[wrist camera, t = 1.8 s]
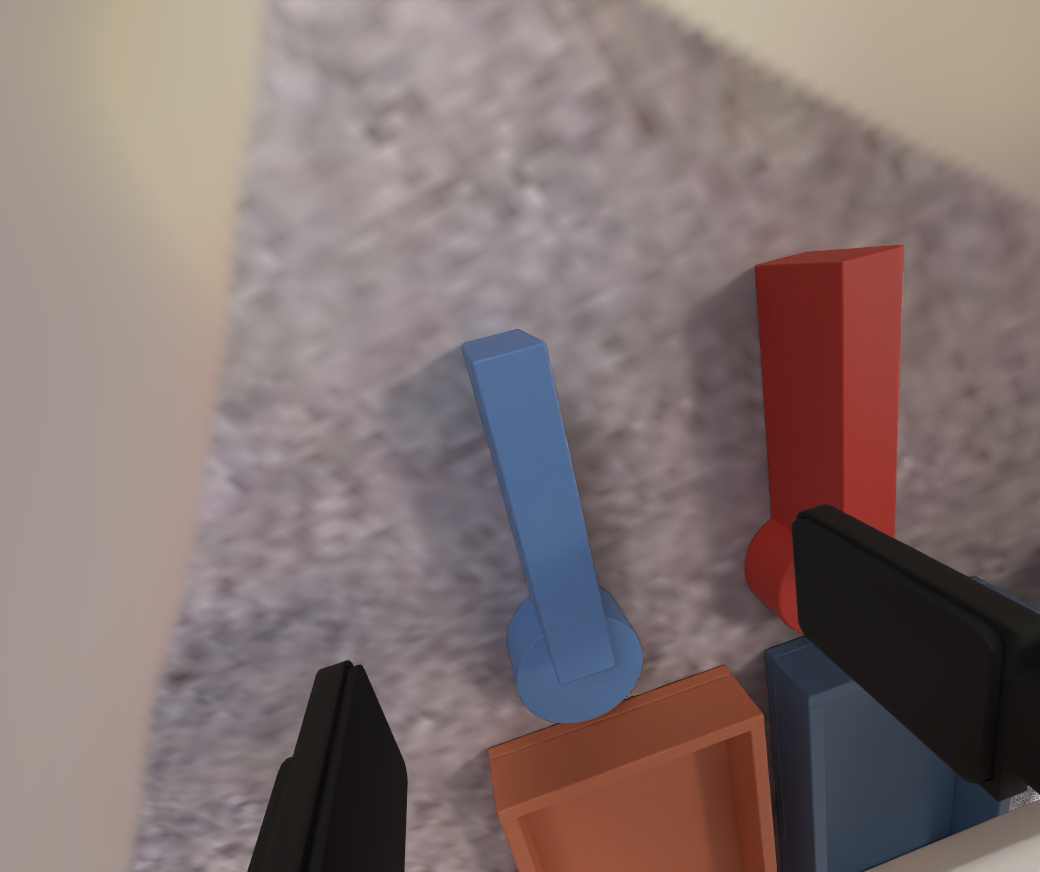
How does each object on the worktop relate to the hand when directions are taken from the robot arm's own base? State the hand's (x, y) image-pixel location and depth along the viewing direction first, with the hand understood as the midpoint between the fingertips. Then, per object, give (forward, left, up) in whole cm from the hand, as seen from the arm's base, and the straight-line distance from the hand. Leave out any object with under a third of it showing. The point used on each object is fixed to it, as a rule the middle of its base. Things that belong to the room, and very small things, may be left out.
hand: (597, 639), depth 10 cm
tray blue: (+18, +13, -7) cm, 24 cm away
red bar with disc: (+1, +10, -7) cm, 12 cm away
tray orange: (+18, +1, -7) cm, 20 cm away
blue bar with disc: (+1, 0, -7) cm, 7 cm away
